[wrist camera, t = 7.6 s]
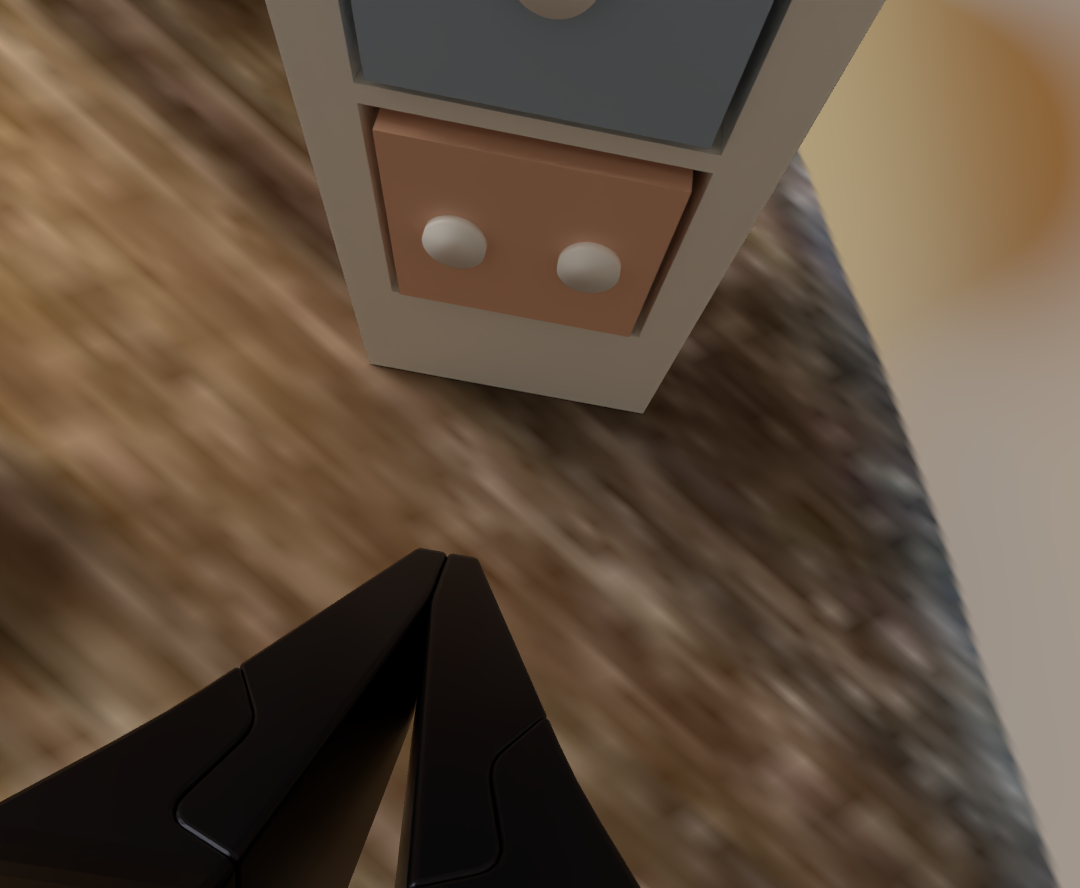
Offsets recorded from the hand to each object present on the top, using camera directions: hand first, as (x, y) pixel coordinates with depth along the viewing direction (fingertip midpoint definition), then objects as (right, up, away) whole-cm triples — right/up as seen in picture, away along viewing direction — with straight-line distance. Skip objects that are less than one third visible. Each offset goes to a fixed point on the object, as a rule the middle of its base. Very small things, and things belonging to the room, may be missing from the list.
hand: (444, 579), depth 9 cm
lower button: (+1, +6, +8) cm, 10 cm away
